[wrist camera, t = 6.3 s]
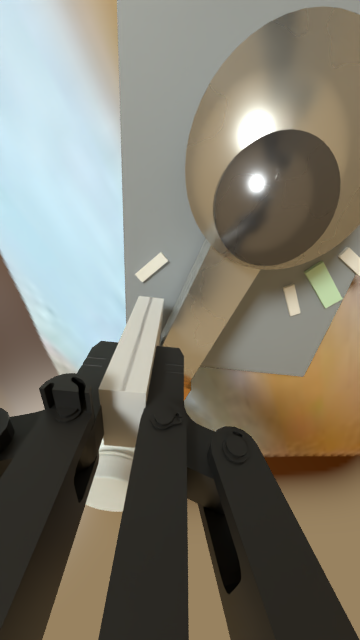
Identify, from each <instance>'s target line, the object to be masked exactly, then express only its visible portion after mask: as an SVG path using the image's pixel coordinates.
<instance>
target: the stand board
mask: <svg viewBox="0 0 360 640" xmlns="http://www.w3.org/2000/svg"><path fill="white" fill-rule="evenodd" d="M321 6H325V7H336V8H342V9H345V10H349V11H352V12H355V13H357V14H359V15H360V0H117V17H118V52H119V87H120V122H121V157H122V191H123V226H124V261H125V296H126V325H127V322H128V320H129V318H130V315H131V313H132V311H133V308H134V306H135V304H136V302H137V299H138V297H139V296H145V297H154V298H163V299H164V305H163V317H162V330H161V333H162V331H163V329H164V327H165V324H166V322H167V320H168V318H169V316H170V314H171V311H172V309H173V307H174V305H175V303H176V301H177V299H178V296H179V294H180V292H181V290H182V288H183V286H184V283H185V281H186V279H187V277H188V275H189V273H190V271H191V268H192V266H193V264H194V262H195V260H196V258H197V255H198V253H199V251H200V249H201V247H202V245H203V243H204V240H205V237H204V235H203V234H202V232H201V231H200V229H199V227H198V225H197V224H196V221H195V219H194V216H193V214H192V212H191V208H190V204H189V201H188V196H187V190H186V182H185V160H186V149H187V144H188V138H189V133H190V130H191V126H192V123H193V119H194V116H195V113H196V111H197V108H198V106H199V104H200V101H201V99H202V97H203V95H204V93H205V91H206V89H207V87H208V85H209V84H210V82H211V80H212V78H213V77H214V76H215V74H216V73H217V71H218V70H219V68H220V67H221V65H222V64H223V63H224V61H225V60H226V59H227V58H228V57H229V56H230V55H231V53H232V52H233V51H234V50H235V49H236V48H237V47H238V46H239V45H240V44H241V43H242V42H243V41H244V40H246V39H247V38H248V37H249V36H250V35H251V34H252V33H254V32H255V31H257V30H258V29H260V28H261V27H263V26H264V25H266V24H267V23H268V22H270V21H273V20H275V19H277V18H279V17H281V16H283V15H285V14H287V13H291V12H294V11H297V10H301V9H304V8H312V7H321ZM356 274H357V275H358V276H359V277H360V225H359V226H358V227H357V228H356V229H355V230H354V231H353V232H352V233H351V234H350V235H349V236H348V237H347V238H346V239H344V240H343V241H342V242H341V243H339V244H338V245H337V246H335V247H334V248H332V249H331V250H329V251H328V252H326V253H325V254H323V255H321V256H319V257H317V258H315V259H313V260H311V261H309V262H306V263H304V264H301V265H297V266H294V267H290V268H284V269H276V270H263V269H261V270H260V271H259V273H258V274H257V276H256V278H255V279H254V281H253V282H252V284H251V286H250V287H249V289H248V290H247V292H246V293H245V295H244V297H243V298H242V300H241V301H240V303H239V305H238V306H237V308H236V309H235V311H234V313H233V314H232V316H231V317H230V319H229V321H228V322H227V324H226V325H225V327H224V328H223V330H222V332H221V333H220V335H219V336H218V338H217V340H216V341H215V343H214V344H213V346H212V348H211V349H210V351H209V352H208V354H207V356H206V357H205V359H204V360H203V362H202V363H201V365H200V367H210V368H220V369H230V370H241V371H251V372H261V373H271V374H281V375H292V376H302V377H304V375H305V373H306V371H307V369H308V367H309V365H310V363H311V361H312V359H313V357H314V355H315V353H316V351H317V349H318V347H319V345H320V343H321V341H322V339H323V337H324V335H325V333H326V331H327V330H328V328H329V326H330V324H331V322H332V320H333V318H334V316H335V314H336V312H337V310H338V308H339V306H340V304H341V302H342V300H343V298H344V296H345V294H346V292H347V290H348V288H349V286H350V284H351V282H352V280H353V279H354V277H355V275H356Z"/></svg>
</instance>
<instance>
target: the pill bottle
mask: <svg viewBox="0 0 360 640" xmlns="http://www.w3.org/2000/svg"><path fill="white" fill-rule="evenodd" d="M134 450H135V448H131V447H121V446H108V445H104V440H103V439H102V442H101V445H100V448H99V463H98V466H97V470H96V473H95V476H94V479H93V482H92V485H91V488H90V491H89V495H88V498H87V501H86V505H88V506H90V507H93V508H96V509H100V510H107V511H116V512H117V511H123V508H124V503H125V498H126V492H127V487H128V482H129V477H130V471H131V466H132V461H133V456H134Z"/></svg>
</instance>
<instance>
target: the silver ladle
mask: <svg viewBox="0 0 360 640" xmlns="http://www.w3.org/2000/svg"><path fill="white" fill-rule="evenodd" d="M185 182H186V190H187V196H188V201H189V204H190V208H191V212H192V214H193V216H194V219H195V221H196V224H197V225H198V227H199V229H200V231H201V232H202V234H203V235H204V237H205V240H204V243H203V245H202V247H201V249H200V251H199V253H198V255H197V258H196V260H195V262H194V264H193V266H192V268H191V271H190V273H189V275H188V277H187V279H186V281H185V283H184V286H183V288H182V290H181V292H180V294H179V296H178V299H177V301H176V303H175V305H174V307H173V309H172V311H171V314H170V316H169V318H168V320H167V322H166V324H165V327H164V329H163V331H162V333H161V341H160V346H164V347H174V348H180V350H181V352H182V353H183V355H184V400H185V398H186V397H187V395H188V394H189V392H190V391H191V382H190V381H191V379H192V378H193V376H194V375H195V373H196V371H197V370H198V368H199V367H200V365H201V363H202V362H203V360H204V359H205V357H206V356H207V354H208V352H209V351H210V349H211V348H212V346H213V344H214V343H215V341H216V340H217V338H218V336H219V335H220V333H221V332H222V330H223V328H224V327H225V325H226V324H227V322H228V321H229V319H230V317H231V316H232V314H233V313H234V311H235V309H236V308H237V306H238V305H239V303H240V301H241V300H242V298H243V297H244V295H245V293H246V292H247V290H248V289H249V287H250V286H251V284H252V282H253V281H254V279H255V278H256V276H257V274H258V273H259V271H260V270H261V269H263V270H276V269H284V268H290V267H294V266H297V265H301V264H304V263H306V262H309V261H311V260H313V259H315V258H317V257H319V256H321V255H323V254H325V253H326V252H328V251H329V250H331V249H332V248H334V247H335V246H337V245H338V244H339V243H341V242H342V241H343V240H344V239H346V238H347V237H348V236H349V235H350V234H351V233H352V232H353V231H354V230H355V229H356V228H357V227H358V226H359V225H360V15H359V14H357V13H355V12H352V11H349V10H345V9H342V8H336V7H325V6H321V7H312V8H304V9H301V10H297V11H294V12H291V13H287V14H285V15H283V16H281V17H279V18H277V19H275V20H273V21H270V22H268V23H267V24H266V25H264V26H263V27H261V28H260V29H258V30H257V31H255V32H254V33H252V34H251V35H250V36H249V37H248V38H247V39H246V40H244V41H243V42H242V43H241V44H240V45H239V46H238V47H237V48H236V49H235V50H234V51H233V52H232V53H231V55H230V56H229V57H228V58H227V59H226V60H225V61H224V63H223V64H222V65H221V67H220V68H219V70H218V71H217V73H216V74H215V76H214V77H213V78H212V80H211V82H210V84H209V85H208V87H207V89H206V91H205V93H204V95H203V97H202V99H201V101H200V104H199V106H198V108H197V111H196V113H195V116H194V119H193V123H192V126H191V130H190V133H189V138H188V144H187V149H186V160H185Z"/></svg>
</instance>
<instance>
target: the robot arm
mask: <svg viewBox="0 0 360 640" xmlns="http://www.w3.org/2000/svg"><path fill="white" fill-rule="evenodd" d="M163 305H164V299H163V298H154V297H145V296H139V297H138V299H137V302H136V304H135V306H134V308H133V311H132V313H131V315H130V318H129V320H128V322H127V325H126V327H125V329H124V331H123V334H122V336H121V338H120V341H119V343H116V342H106V341H101V342H99V343H98V344H97V345H95V346H94V347H93V348H92V349H91V351H90V352H89V354H88V356H87V358H86V359H85V361H84V363H83V365H82V366H81V368H80V369H79V371H78V373H77V374H75V373H71V374H62V375H59V376H56V377H54V378H52V379H50V380H48V381H46V382H45V383H44V384H43V385H42V386H41V387H40V388H39V390H40V393H41V397H42V400H43V404H44V407H45V410H43V411H39V412H35V413H30V414H25V415H20V416H14V417H9V415H8V412H6V411H5V410H4V409H2V408H0V640H42V638H43V635H44V632H45V629H46V626H47V623H48V620H49V617H50V613H51V610H52V607H53V604H54V601H55V597H56V595H57V592H58V588H59V585H60V582H61V579H62V576H63V572H64V569H65V566H66V563H67V560H68V557H69V554H70V550H71V548H72V545H73V541H74V538H75V535H76V532H77V529H78V526H79V522H80V520H81V516H82V513H83V510H84V507H85V504H86V501H87V498H88V495H89V491H90V488H91V485H92V482H93V479H94V476H95V473H96V470H97V466H98V463H99V448H100V445H101V442H102V439H103V440H104V445H108V446H121V447H131V448H135V450H134V456H133V461H132V466H131V471H130V477H129V482H128V487H127V492H126V498H125V503H124V508H123V513H122V519H121V524H120V529H119V534H118V540H117V545H116V550H115V556H114V561H113V566H112V571H111V576H110V582H109V587H108V592H107V597H106V603H105V608H104V614H103V618H102V624H101V629H100V634H99V640H189V639H188V638H189V636H188V544H187V543H188V542H187V541H188V540H187V498H188V499H190V500H192V501H194V502H196V503H198V506H199V511H200V515H201V519H202V523H203V527H204V531H205V535H206V540H207V544H208V548H209V552H210V556H211V560H212V564H213V568H214V573H215V577H216V581H217V585H218V589H219V593H220V597H221V601H222V605H223V609H224V614H225V617H226V622H227V626H228V630H229V634H230V638H231V640H359V638H358V636H357V634H356V632H355V631H354V628H353V627H352V625H351V623H350V621H349V619H348V617H347V615H346V613H345V611H344V610H343V608H342V606H341V604H340V602H339V600H338V598H337V596H336V594H335V592H334V590H333V588H332V587H331V585H330V583H329V581H328V579H327V577H326V575H325V573H324V571H323V569H322V568H321V565H320V564H319V562H318V560H317V558H316V556H315V554H314V552H313V550H312V548H311V546H310V545H309V543H308V541H307V539H306V537H305V535H304V533H303V531H302V529H301V527H300V526H299V524H298V522H297V520H296V518H295V516H294V514H293V512H292V510H291V508H290V507H289V504H288V503H287V501H286V499H285V497H284V495H283V493H282V492H281V489H280V487H279V485H278V483H277V482H276V480H275V478H274V476H273V474H272V472H271V470H270V468H269V466H268V465H267V463H266V461H265V459H264V457H263V455H262V453H261V451H260V449H259V447H258V445H257V444H256V443H255V441H254V440H253V438H252V437H251V436H250V435H248V434H247V433H246V432H245V431H243V430H241V429H238V428H236V427H223V428H220V429H218V430H217V431H216V432H214V431H212V430H209V429H207V428H205V427H202V426H200V425H198V424H197V423H195V422H194V421H193V420H192V419H191V418H190V417H189V416H188V415H187V413H186V411H185V408H184V355H183V353H182V352H181V350H180V348H174V347H164V346H160V341H161V330H162V317H163Z"/></svg>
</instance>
